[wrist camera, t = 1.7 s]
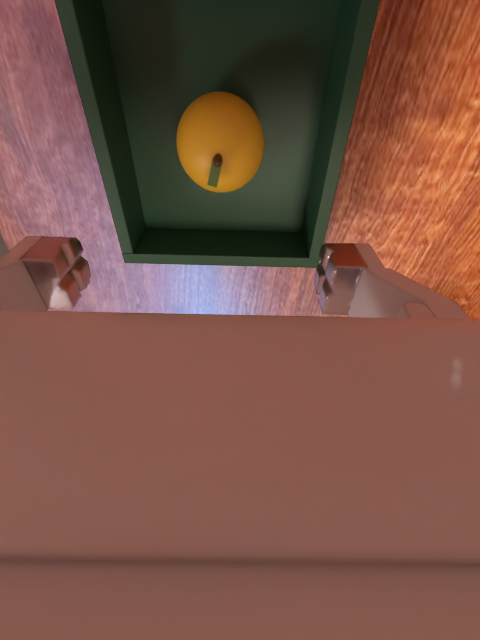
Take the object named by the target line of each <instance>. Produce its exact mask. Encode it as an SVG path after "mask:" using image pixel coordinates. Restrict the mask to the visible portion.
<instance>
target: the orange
mask: <svg viewBox="0 0 480 640" xmlns="http://www.w3.org/2000/svg"><path fill="white" fill-rule="evenodd" d="M176 142H177V151H178V156H179V159H180V162H181V164H182V166H183V168H184V170H185V172H186V173H187V174H188V176H189V177H190V178H191V179H192V180H193V181H194V182H195V183H196V184H198V185H199V186H201V187H202V188H204V189H206V190H209V191H212V192H219V193H226V192H231V191H234V190H237V189H239V188H241V187H243V186H244V185H246V184H247V183H248V182H249V181H250V180H251V179H252V178H253V177H254V175H255V174H256V172H257V170H258V169H259V167H260V164H261V162H262V158H263V154H264V133H263V129H262V126H261V123H260V120H259V118H258V116H257V115H256V113H255V112H254V110H253V109H252V108H251V106H250V105H249V104H248V103H247V102H246V101H244V100H243V99H242V98H240V97H238V96H236V95H234V94H232V93H228V92H221V91H218V92H210V93H207V94H204V95H202V96H200V97H199V98H197V99H195V100H194V101H193V102H192V103H191V104H190V105H189V106H188V107H187V109H186V110H185V112H184V113H183V115H182V117H181V119H180V122H179V125H178V130H177V138H176Z"/></svg>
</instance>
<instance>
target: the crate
mask: <svg viewBox="0 0 480 640" xmlns="http://www.w3.org/2000/svg"><path fill="white" fill-rule="evenodd" d="M379 3H380V0H55V4H56V8H57V11H58V15H59V19H60V22H61V26H62V30H63V34H64V37H65V41H66V45H67V49H68V52H69V56H70V60H71V64H72V67H73V71H74V75H75V79H76V82H77V86H78V90H79V93H80V97H81V101H82V105H83V108H84V112H85V116H86V120H87V123H88V127H89V131H90V135H91V138H92V142H93V146H94V150H95V153H96V157H97V161H98V164H99V168H100V172H101V176H102V179H103V183H104V187H105V191H106V194H107V198H108V202H109V206H110V209H111V213H112V217H113V221H114V224H115V228H116V232H117V235H118V239H119V243H120V247H121V250H122V255H123V258H124V262H125V263H149V264H189V265H229V266H269V267H308V268H316V267H317V266H318V265H319V261H320V258H319V252H320V248H321V246H322V244H324V239H325V235H326V231H327V226H328V222H329V218H330V213H331V209H332V205H333V201H334V196H335V192H336V188H337V183H338V179H339V175H340V171H341V166H342V162H343V158H344V153H345V149H346V145H347V140H348V136H349V132H350V128H351V123H352V119H353V115H354V110H355V106H356V102H357V98H358V93H359V89H360V85H361V80H362V76H363V72H364V67H365V63H366V59H367V55H368V50H369V46H370V42H371V37H372V33H373V29H374V25H375V20H376V16H377V12H378V7H379ZM218 91H221V92H228V93H232V94H234V95H236V96H238V97H240V98H242V99H243V100H244V101H246V102H247V103H248V104H249V105H250V106H251V108H252V109H253V110H254V112H255V113H256V115H257V116H258V118H259V120H260V123H261V126H262V129H263V133H264V154H263V158H262V162H261V164H260V167H259V169H258V170H257V172H256V174H255V175H254V177H253V178H252V179H251V180H250V181H249V182H248V183H247V184H246V185H244V186H243V187H241V188H239V189H237V190H234V191H231V192H226V193H219V192H212V191H209V190H206V189H204V188H202V187H201V186H199V185H198V184H196V183H195V182H194V181H193V180H192V179H191V178H190V177H189V176H188V174H187V173H186V172H185V170H184V168H183V166H182V164H181V162H180V159H179V156H178V151H177V142H176V138H177V130H178V125H179V122H180V119H181V117H182V115H183V113H184V112H185V110H186V109H187V107H188V106H189V105H190V104H191V103H192V102H193V101H194V100H195V99H197V98H199V97H200V96H202V95H204V94H207V93H210V92H218Z"/></svg>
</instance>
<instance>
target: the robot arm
mask: <svg viewBox="0 0 480 640" xmlns="http://www.w3.org/2000/svg"><path fill="white" fill-rule="evenodd" d="M82 252H83V248H82V246H81V243H80V241H79V240H78V239H77V238H72V237H48V236H46V237H45V236H26V237H25V238H24V239H23V240H22V241H21V242H20V243H18V244H17V245H16V246H15V247H14V248H13V249H12V250H10V251H9V252H8V253H7V254H6V255H5V256H4V257H3V258H1V259H0V640H480V320H471V319H470V318H469V317H468V316H467V314H466V313H465V312H464V311H463V310H462V308H461V307H460V306H459V305H458V303H457V302H455V301H453V300H451V299H449V298H447V297H445V296H443V295H441V294H439V293H437V292H435V291H433V290H431V289H429V288H427V287H425V286H423V285H421V284H419V283H417V282H415V281H413V280H411V279H409V278H407V277H405V276H403V275H401V274H400V273H398V272H396V271H394V270H392V269H388V268H384V266H383V264H382V263H381V261H380V260H379V258H378V257H377V255H376V254H375V252H374V251H373V249H372V247H371V246H370V245H369V244H367V243H365V244H354V243H325V244H322V246H321V248H320V252H319V258H320V261H321V263H320V264H319V265H318V266H317V267H316V271H315V277H314V286H315V291H316V293H317V294H318V295H320V297H319V304H320V308H321V311H322V314H344V315H347V316H348V317H315V316H264V315H214V314H164V313H115V312H65V311H46V310H48V309H65V308H74V307H75V305H76V304H77V302H78V300H79V299H80V297H81V294H80V291H82V290H84V289H85V288H87V286H88V284H89V283H90V276H91V274H90V268H89V265H88V262H87V261H86V260H85V259H84V258H83V257H82V256H81V254H82Z"/></svg>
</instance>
